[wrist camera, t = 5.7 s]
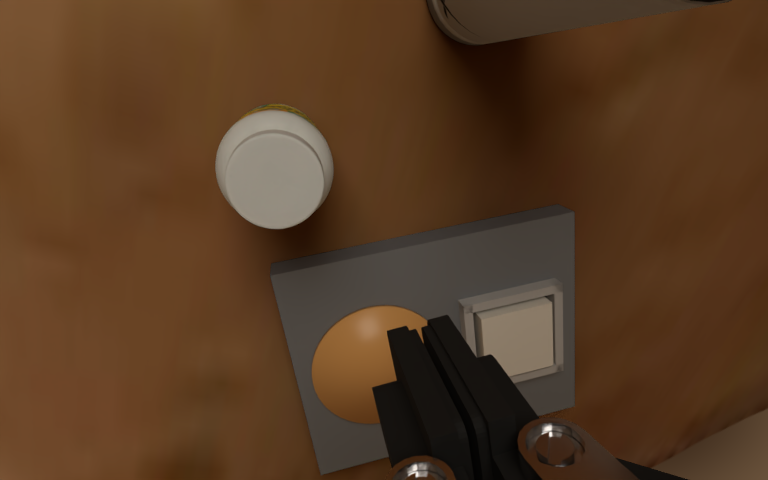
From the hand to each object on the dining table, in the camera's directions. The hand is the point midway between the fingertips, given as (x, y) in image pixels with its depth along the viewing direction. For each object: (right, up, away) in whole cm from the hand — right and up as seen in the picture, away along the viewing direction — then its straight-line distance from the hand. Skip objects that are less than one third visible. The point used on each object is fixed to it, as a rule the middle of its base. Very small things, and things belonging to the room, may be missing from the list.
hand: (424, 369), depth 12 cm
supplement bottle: (-7, +9, +16) cm, 19 cm away
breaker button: (+7, -3, +22) cm, 23 cm away
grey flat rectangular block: (+3, -3, +22) cm, 22 cm away
